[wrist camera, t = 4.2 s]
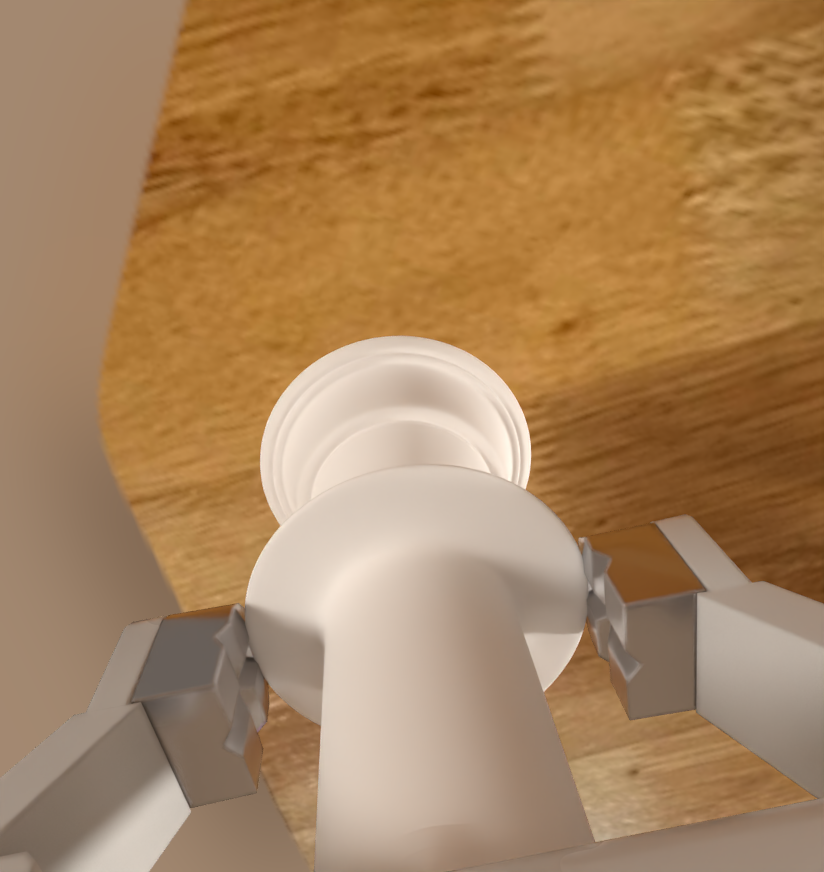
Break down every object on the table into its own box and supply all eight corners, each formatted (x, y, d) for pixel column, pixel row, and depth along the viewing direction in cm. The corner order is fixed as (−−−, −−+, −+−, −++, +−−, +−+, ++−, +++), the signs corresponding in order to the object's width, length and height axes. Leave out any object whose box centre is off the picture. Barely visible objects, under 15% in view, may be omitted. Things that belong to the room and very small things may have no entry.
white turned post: (539, 331, 13) (1657, 1523, 2) (518, 569, 15) (972, 1755, 4) (250, 335, 12) (-520, 1910, 1) (271, 579, 15) (35, 1933, 4)
